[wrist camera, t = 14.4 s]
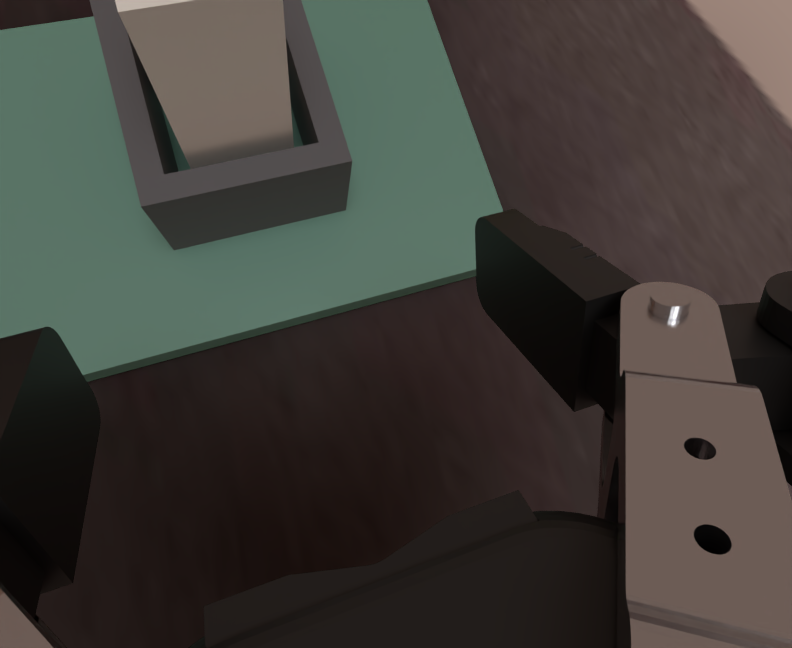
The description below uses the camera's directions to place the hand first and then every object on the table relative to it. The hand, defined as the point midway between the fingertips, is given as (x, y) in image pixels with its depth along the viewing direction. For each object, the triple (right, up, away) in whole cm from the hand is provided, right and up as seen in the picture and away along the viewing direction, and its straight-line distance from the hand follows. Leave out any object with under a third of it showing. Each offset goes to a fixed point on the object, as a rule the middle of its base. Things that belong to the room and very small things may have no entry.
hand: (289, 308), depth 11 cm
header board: (-5, +7, +15) cm, 18 cm away
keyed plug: (-5, +7, +14) cm, 16 cm away
